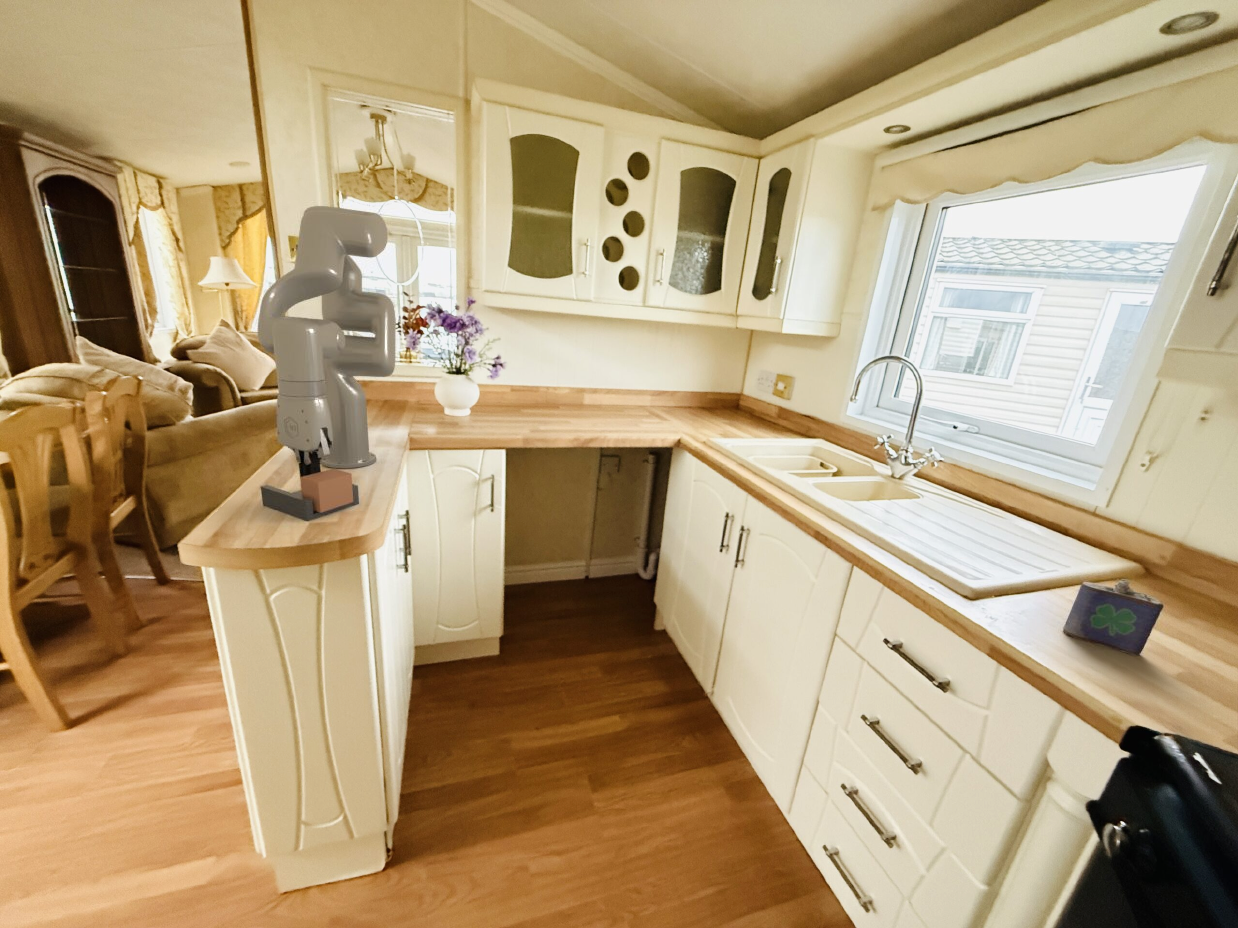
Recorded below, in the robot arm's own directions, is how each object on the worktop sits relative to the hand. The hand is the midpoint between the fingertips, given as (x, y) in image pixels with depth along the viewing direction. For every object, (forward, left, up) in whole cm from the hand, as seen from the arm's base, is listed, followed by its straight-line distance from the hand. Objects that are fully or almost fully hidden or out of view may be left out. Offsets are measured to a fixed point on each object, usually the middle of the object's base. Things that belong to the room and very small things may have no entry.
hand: (311, 481), depth 98 cm
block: (+4, 0, -4) cm, 6 cm away
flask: (+136, +31, -5) cm, 140 cm away
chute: (-1, 0, -5) cm, 5 cm away
